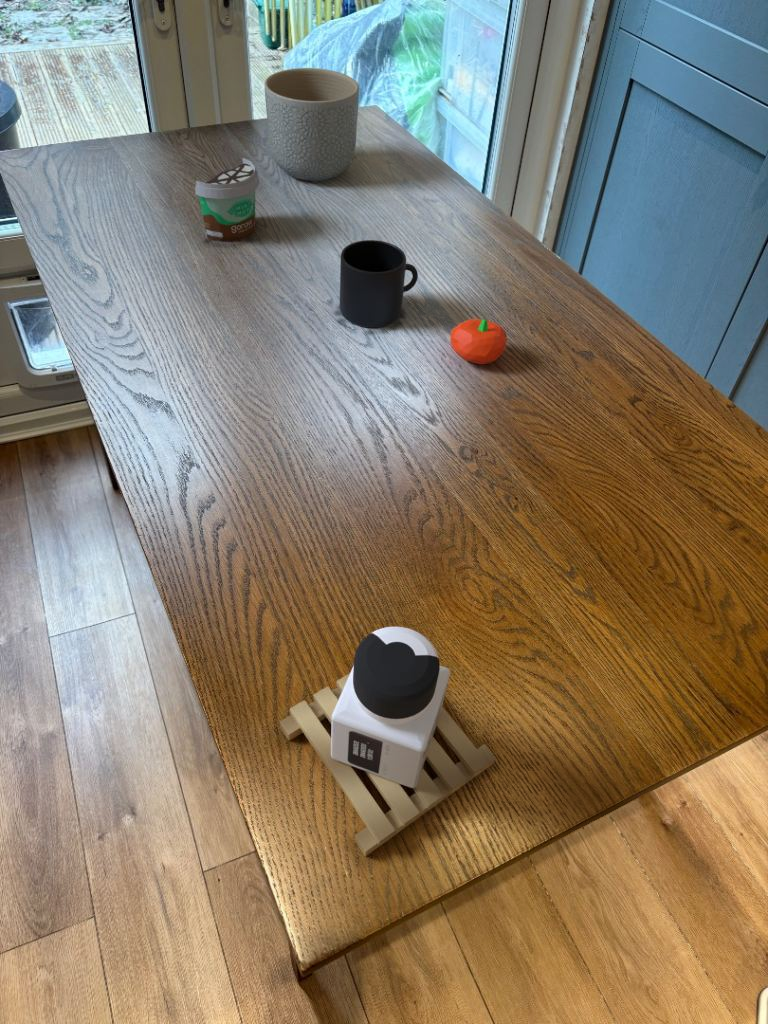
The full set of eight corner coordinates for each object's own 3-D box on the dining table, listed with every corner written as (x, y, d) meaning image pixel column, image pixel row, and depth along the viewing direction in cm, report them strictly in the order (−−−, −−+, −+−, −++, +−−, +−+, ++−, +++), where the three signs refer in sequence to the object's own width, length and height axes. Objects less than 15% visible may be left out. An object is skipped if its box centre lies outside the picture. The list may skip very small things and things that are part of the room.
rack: (495, 765, 67) (499, 755, 65) (366, 859, 61) (367, 850, 59) (402, 651, 74) (403, 640, 73) (278, 725, 68) (277, 715, 67)
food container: (229, 253, 123) (223, 193, 116) (201, 241, 125) (193, 181, 118) (276, 225, 130) (274, 167, 123) (249, 214, 132) (245, 156, 125)
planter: (264, 187, 140) (259, 98, 128) (273, 149, 151) (269, 64, 140) (355, 192, 140) (358, 104, 129) (357, 154, 152) (360, 70, 140)
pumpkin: (451, 338, 110) (457, 299, 106) (505, 347, 110) (513, 309, 105) (444, 366, 106) (449, 327, 101) (500, 376, 105) (508, 337, 100)
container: (415, 791, 63) (431, 718, 53) (329, 759, 64) (330, 683, 54) (441, 711, 68) (460, 632, 58) (361, 683, 69) (367, 602, 59)
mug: (426, 320, 113) (433, 265, 106) (351, 333, 110) (353, 277, 103) (403, 287, 119) (408, 234, 112) (331, 298, 116) (332, 244, 109)
